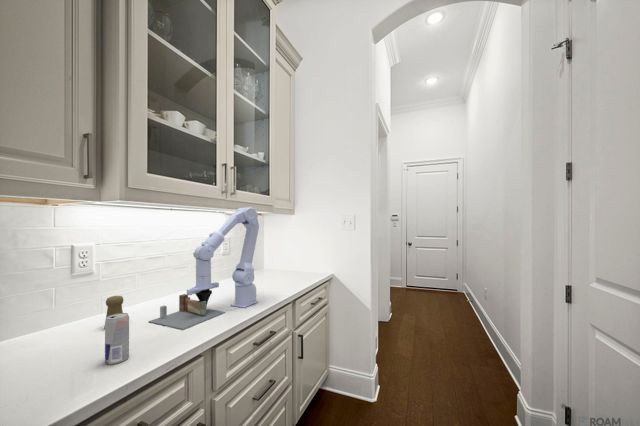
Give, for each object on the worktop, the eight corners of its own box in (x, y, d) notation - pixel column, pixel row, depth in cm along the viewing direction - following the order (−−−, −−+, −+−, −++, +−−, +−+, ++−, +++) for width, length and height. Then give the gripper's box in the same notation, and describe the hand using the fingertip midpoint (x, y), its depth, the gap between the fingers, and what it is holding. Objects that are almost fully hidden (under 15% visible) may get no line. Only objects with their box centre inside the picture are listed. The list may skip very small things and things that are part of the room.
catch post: (163, 318, 110) (163, 305, 110) (166, 318, 109) (166, 305, 109) (160, 319, 108) (160, 306, 108) (162, 320, 107) (162, 307, 108)
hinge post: (184, 310, 119) (184, 294, 119) (188, 311, 118) (188, 294, 118) (179, 312, 117) (179, 295, 117) (183, 313, 116) (183, 296, 116)
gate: (188, 309, 117) (188, 297, 118) (206, 314, 111) (206, 301, 111) (184, 310, 116) (184, 298, 116) (202, 315, 109) (202, 302, 109)
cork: (113, 330, 98) (114, 299, 98) (99, 329, 99) (99, 298, 99) (128, 324, 104) (129, 294, 104) (115, 323, 105) (115, 293, 105)
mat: (193, 307, 123) (193, 306, 123) (225, 312, 115) (225, 311, 115) (148, 322, 105) (148, 321, 105) (182, 330, 97) (182, 329, 97)
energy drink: (113, 355, 79) (113, 313, 79) (133, 354, 79) (133, 312, 80) (99, 365, 73) (100, 319, 74) (121, 364, 74) (121, 318, 74)
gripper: (210, 271, 122) (210, 302, 122) (181, 278, 109) (181, 312, 109) (222, 272, 119) (222, 304, 119) (193, 279, 106) (193, 315, 106)
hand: (203, 308), depth 114 cm, fingers closed
